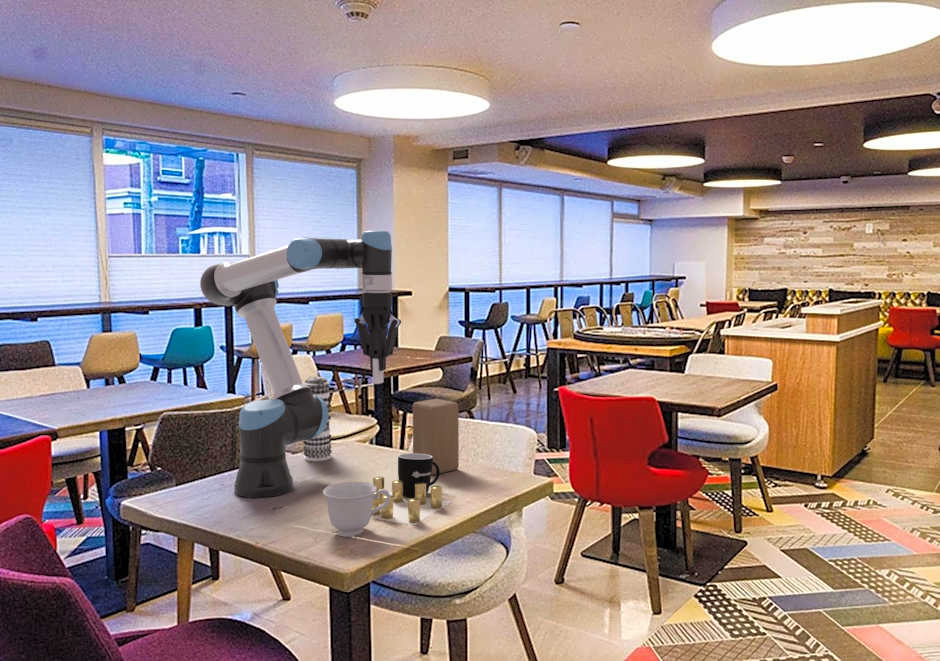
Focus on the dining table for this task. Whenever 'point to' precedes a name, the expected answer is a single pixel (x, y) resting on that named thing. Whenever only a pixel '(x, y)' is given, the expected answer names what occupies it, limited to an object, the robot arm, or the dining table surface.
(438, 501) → the spacers
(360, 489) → the teacup
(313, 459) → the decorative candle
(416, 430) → the block
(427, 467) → the mug
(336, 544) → the dining table surface
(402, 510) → the tray
